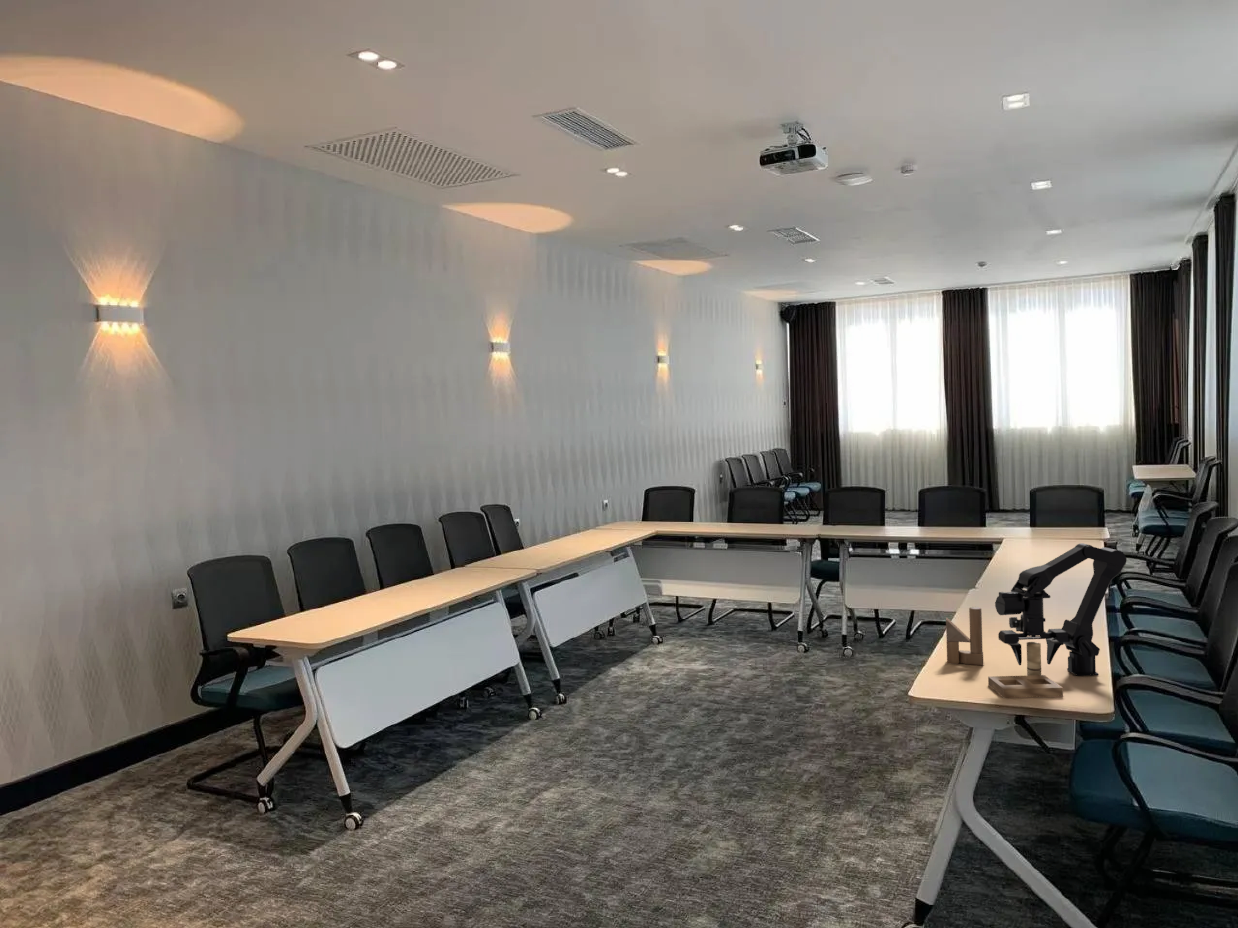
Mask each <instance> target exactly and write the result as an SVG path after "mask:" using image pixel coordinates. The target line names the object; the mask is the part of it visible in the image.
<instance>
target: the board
mask: <svg viewBox="0 0 1238 928" xmlns="http://www.w3.org/2000/svg"><path fill="white" fill-rule="evenodd" d="M987 679H988V680H987V681H988V682H987V684H988V686H989V687H990V688H991V689H992V690H994V691H995V692H996V693H997V694H999V695H1000V696H1001V697H1002V698H1003V699H1014V698H1015V699H1017V698H1018V699H1019V698H1020V699H1022V698H1054V697H1056V698H1057V697H1061V698H1062V697H1064V688H1063V686H1061V685H1059V684H1058V683H1057V682H1055V681H1054V680H1052V679H1051V678H1049V677H1048V676H1047V675H1044V674H1041V675H1027V674H1026V675H999V676H998V675H997V676H987Z"/></svg>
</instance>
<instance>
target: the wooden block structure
mask: <svg viewBox="0 0 1238 928" xmlns="http://www.w3.org/2000/svg"><path fill="white" fill-rule="evenodd" d="M968 609H969V611H968V612H969V613H968V614H969V617H968V618H969V637H968V636H967V635H966V634H965V633H964V632H963V631H962V630H961V629H960V628H959V627H958V626H957V625H956V624H955V623H954V622H953V621H951V619H949V618H948V617H946V618H945V629H946V630H945V631H946V632H945V633H946V637H945V638H946V662H947V663H946V664H952V665H953V664H956V665H959V664H964V665H971V666H972V665H973V666H976V665H977V666H984V650H983V623H982V622H983V620H982V619H983V618H982V608H981V607H979V606H971V607H969V608H968ZM959 643H969V648H970V649H969V650H961V649H960V644H959Z"/></svg>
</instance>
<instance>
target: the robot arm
mask: <svg viewBox="0 0 1238 928" xmlns="http://www.w3.org/2000/svg"><path fill="white" fill-rule="evenodd" d="M1088 559H1090V560H1093V561H1092V568H1093V574H1092V577H1091V579H1090V582H1089V584H1088V586H1087V588H1086V591H1085V593H1084V595H1083V598H1082V600H1081V602H1080V605H1079V607H1078V609H1077V612H1076V614H1075V616H1074V617H1072V619H1071V620H1069V619H1065V620H1064V621H1063V625H1062V627H1061V628H1048V630H1047V632H1046V631H1045V622H1046V617H1044V599H1050V598H1051V595H1050V594H1049V593H1047V592H1046V590H1045V589H1047V587H1049V586H1050V585H1051V584H1052V582H1053V580H1054V579H1056V578H1057V577H1058V576H1060V575H1061V574H1064V573H1065V572H1067V571H1068V570H1070V569H1072V568H1074V567H1075V566H1077V565H1079V564H1080V563H1082V562H1084V561H1086V560H1088ZM1127 561H1128V559H1127V557H1126V554H1125V553H1124V552H1123V551H1121V550H1119V549H1115V548H1114V549H1113V548H1110V547H1105V546H1104V547H1101V548H1099V547H1096V546H1092V545H1091V544H1087V543H1081V542H1080V543H1078V544H1076V545H1075V546H1074V547H1073V548H1071V549H1069V550H1067V551H1065V552H1064V553H1062V554H1060V555H1058V556H1057V557H1055V558H1053V559H1052V560H1050V561H1048V562H1047V563H1044V564H1042V565H1038V566H1033V567H1030V568H1028V569H1025V570H1022V571H1021V572H1020V573H1018V579H1017V580H1016V581H1015V584H1013V587H1012V588H1011V589H1010V591H1007V592H1006V591H999V592H998V596H997V597H996V599H995V602H994V604H995V605H994V606H995V611H996V613H997V614H998V615H999V616H1009V615H1011V616H1010V617H1009V620H1008V625H1009V628H1010V629H1008V630H1005V629H1004V630H1000V631H999V632H998V634H997V635H998V640H999V641H1000V642H1002V643H1003V644H1006V645H1008V646H1010V647H1011V650H1012V652H1013V654H1014V656H1015V659H1016V661H1017V664H1018V665H1019V666H1021V665H1022V661H1023V660H1022V658H1023V657H1022V654H1023V653H1022V644H1021V643H1020V641H1022V640H1024V641H1025V640H1045V643H1046V646H1047V647H1046V664H1048V665H1051V663H1052V661H1053V659H1054V657H1055V655H1056V653H1057V652H1058V650H1059V648H1060V647H1061V646H1063V645H1065V648H1066V650H1068V651H1069V656H1067V668H1066V670H1067V671H1068V672H1069V673H1071V674H1073V675H1074V676H1078V677H1079V676H1082V677H1085V676H1099V673H1098V672H1097V671H1096V657H1097V656H1099V653H1100V651H1101V649H1100V648H1099V647H1098V646H1097V645H1096V644H1095V643H1094V642H1093V641H1092V640H1093V637H1094V629H1093V623H1094V621H1095V619H1096V616H1097V613H1098V612H1099V609H1100V607H1101V604H1102V602H1103V599H1104V598H1105V596H1106V593H1107V591H1108V588H1109V586H1110V584H1111V582H1112V580H1113V579H1114V578H1115V577H1117V576H1118V575H1119V574H1120V573H1122V570H1123V568H1125V566H1126V564H1127ZM1012 615H1013V616H1012ZM1014 615H1020V619H1018V617H1017V616H1014ZM1011 629H1012V630H1011ZM1013 629H1015V631H1014V630H1013ZM1017 632H1018V633H1017Z"/></svg>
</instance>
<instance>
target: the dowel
mask: <svg viewBox="0 0 1238 928" xmlns="http://www.w3.org/2000/svg"><path fill="white" fill-rule="evenodd" d="M1041 647H1042V646H1041V643H1040V642H1037V641H1027V642H1026V673H1027V674H1026V675H1042V649H1041Z"/></svg>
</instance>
